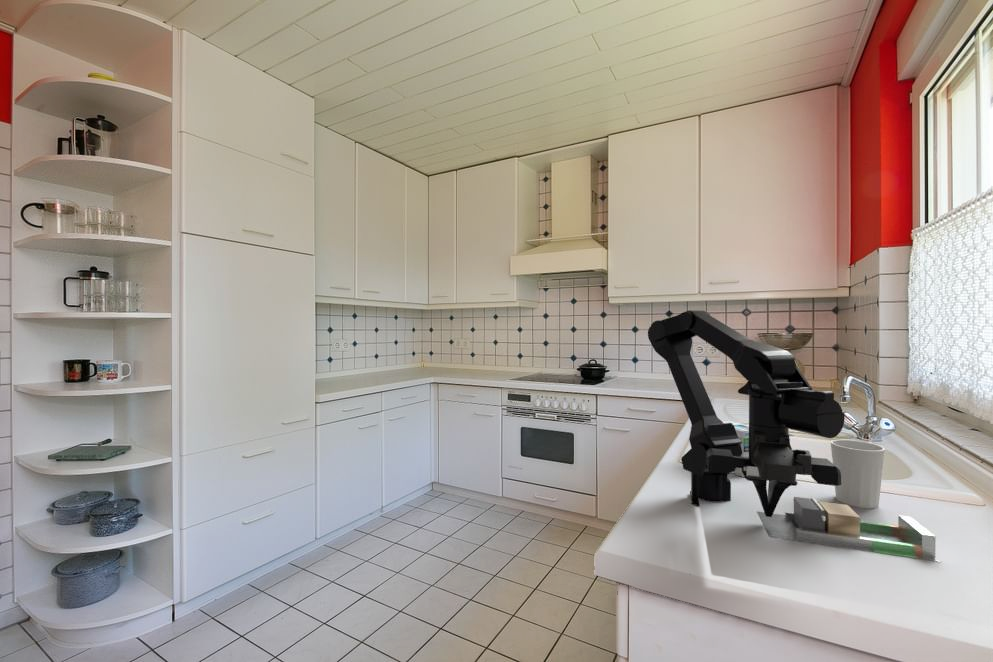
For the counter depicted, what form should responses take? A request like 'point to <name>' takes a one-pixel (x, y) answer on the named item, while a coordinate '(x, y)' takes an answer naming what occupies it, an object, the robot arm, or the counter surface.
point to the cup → (858, 472)
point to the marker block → (841, 519)
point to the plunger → (809, 514)
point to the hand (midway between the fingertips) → (768, 516)
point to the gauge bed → (846, 537)
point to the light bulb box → (744, 437)
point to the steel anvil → (917, 534)
